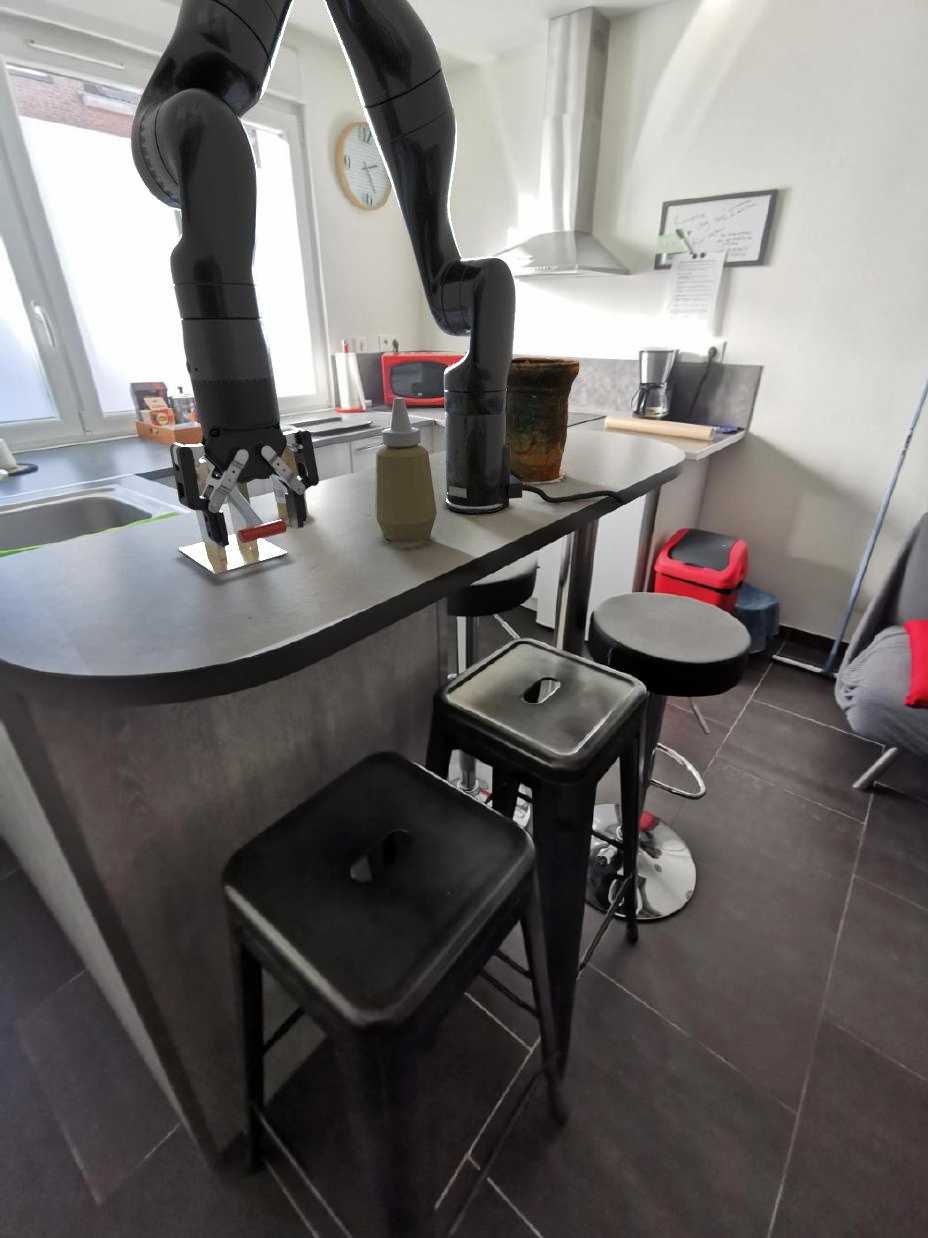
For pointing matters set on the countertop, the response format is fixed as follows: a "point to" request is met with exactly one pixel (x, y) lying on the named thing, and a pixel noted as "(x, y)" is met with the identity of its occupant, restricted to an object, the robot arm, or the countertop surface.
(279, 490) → the sprinkles bottle
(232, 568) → the metal stand
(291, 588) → the countertop surface
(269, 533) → the lever
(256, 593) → the countertop surface
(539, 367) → the vessel
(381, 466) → the squeeze bottle
